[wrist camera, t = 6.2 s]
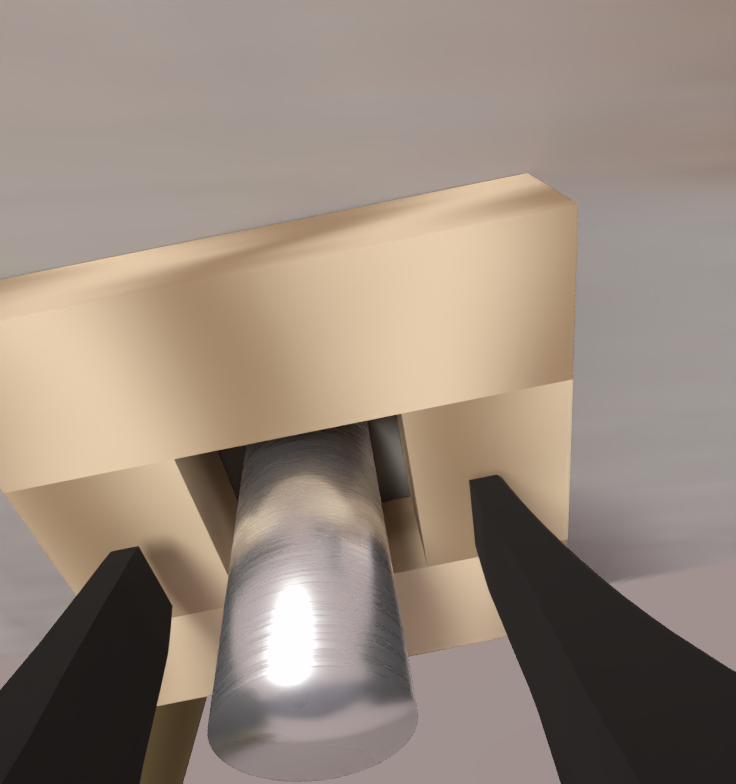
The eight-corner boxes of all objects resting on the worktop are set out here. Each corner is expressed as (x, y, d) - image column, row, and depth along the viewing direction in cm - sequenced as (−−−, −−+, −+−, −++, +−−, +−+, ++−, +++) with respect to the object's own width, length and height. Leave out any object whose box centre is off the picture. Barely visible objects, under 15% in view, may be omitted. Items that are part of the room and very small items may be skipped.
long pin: (366, 381, 14) (419, 656, 8) (370, 478, 16) (416, 767, 10) (238, 392, 14) (187, 682, 8) (256, 489, 16) (226, 792, 9)
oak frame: (527, 173, 12) (578, 204, 10) (533, 555, 18) (564, 625, 16) (-30, 285, 12) (-104, 341, 10) (171, 627, 18) (154, 706, 16)
